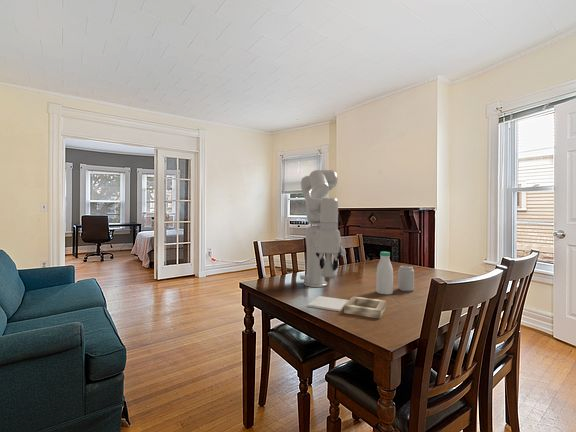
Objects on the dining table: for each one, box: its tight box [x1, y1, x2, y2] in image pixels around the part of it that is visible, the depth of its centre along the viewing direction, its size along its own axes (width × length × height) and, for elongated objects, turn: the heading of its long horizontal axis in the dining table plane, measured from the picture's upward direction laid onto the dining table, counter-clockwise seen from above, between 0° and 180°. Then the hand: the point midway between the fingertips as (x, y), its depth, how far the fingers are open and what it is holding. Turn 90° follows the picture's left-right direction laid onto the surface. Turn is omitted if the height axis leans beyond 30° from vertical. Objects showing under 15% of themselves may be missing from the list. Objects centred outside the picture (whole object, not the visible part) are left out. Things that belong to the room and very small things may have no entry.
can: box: [397, 265, 415, 292], centre depth 156 cm, size 8×8×12 cm
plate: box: [307, 295, 350, 312], centre depth 134 cm, size 14×14×1 cm
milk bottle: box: [375, 251, 394, 295], centre depth 151 cm, size 8×8×20 cm
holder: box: [343, 296, 387, 320], centre depth 126 cm, size 14×14×3 cm
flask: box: [320, 253, 338, 278], centre depth 133 cm, size 7×7×10 cm
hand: (328, 268), depth 133 cm, fingers closed on flask, 5 cm apart
